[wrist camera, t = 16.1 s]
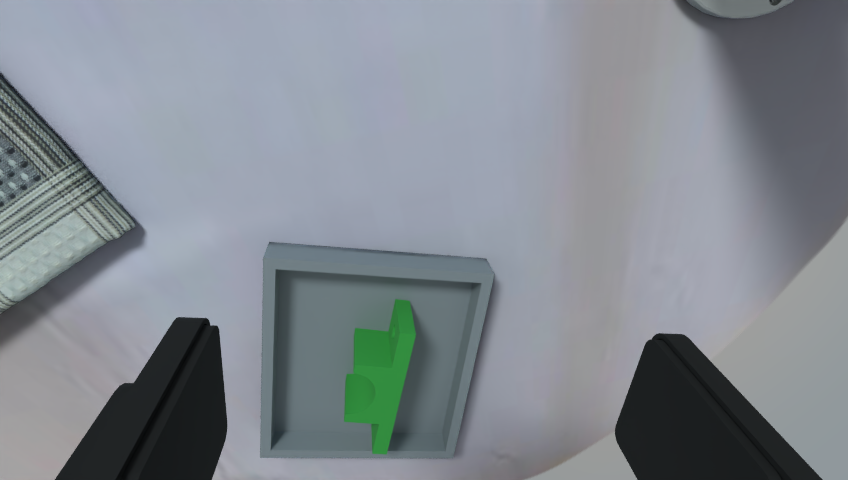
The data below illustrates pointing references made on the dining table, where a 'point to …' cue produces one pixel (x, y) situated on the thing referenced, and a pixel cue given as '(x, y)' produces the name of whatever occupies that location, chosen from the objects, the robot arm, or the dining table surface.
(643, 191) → the dining table surface
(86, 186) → the dish towel
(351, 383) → the pipe clamp
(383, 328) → the tray
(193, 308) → the dining table surface
